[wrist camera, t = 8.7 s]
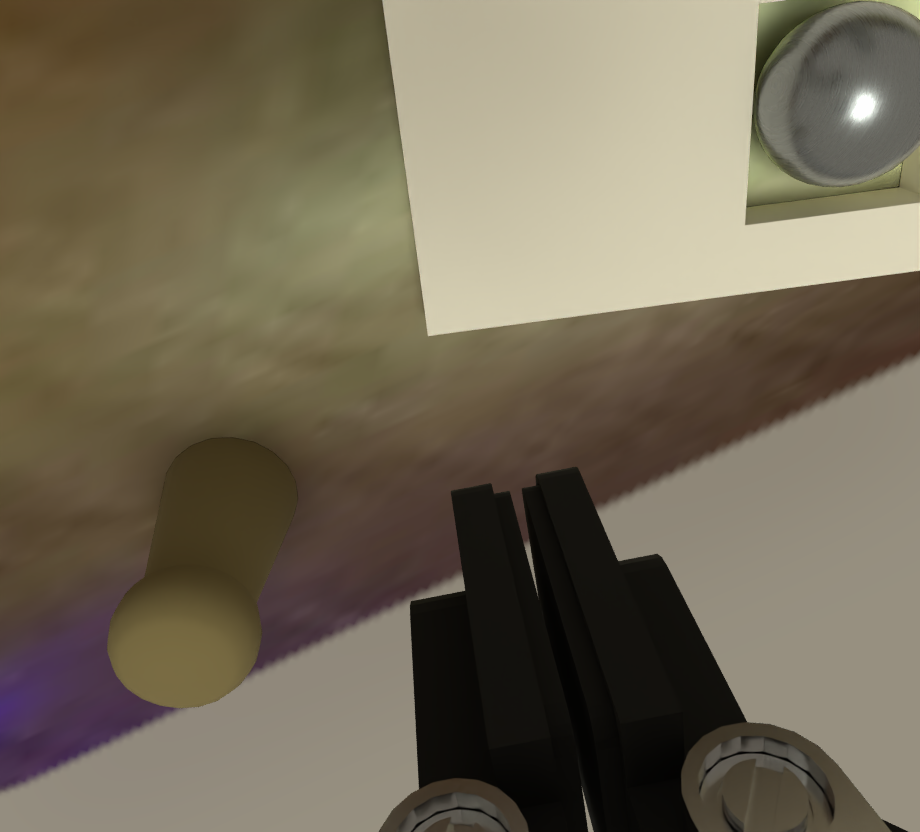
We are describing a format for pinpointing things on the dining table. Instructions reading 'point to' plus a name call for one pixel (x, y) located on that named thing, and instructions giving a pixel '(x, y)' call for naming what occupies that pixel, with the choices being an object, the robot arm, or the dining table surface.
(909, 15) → the ball
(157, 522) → the cork
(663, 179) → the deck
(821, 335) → the dining table surface
